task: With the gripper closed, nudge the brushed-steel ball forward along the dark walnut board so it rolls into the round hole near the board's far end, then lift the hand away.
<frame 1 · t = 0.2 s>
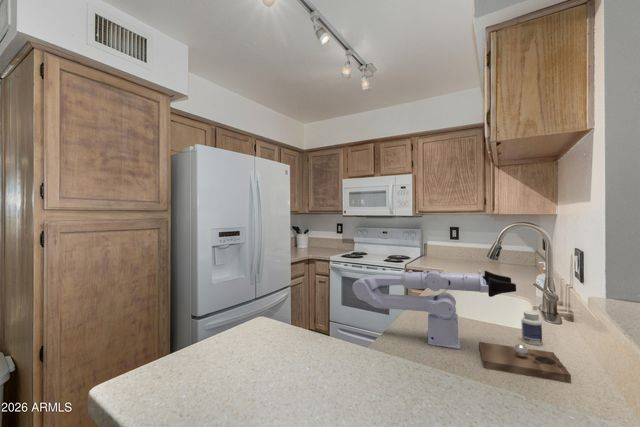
hand: (513, 284, 87), 21 cm above the countertop, tool horizontal, fingers open, 7 cm apart
steel ball: (521, 350, 80), point 4 cm above the countertop, touching walnut board
pill bottle: (532, 342, 94), on the countertop
walnut board: (519, 363, 80), on the countertop
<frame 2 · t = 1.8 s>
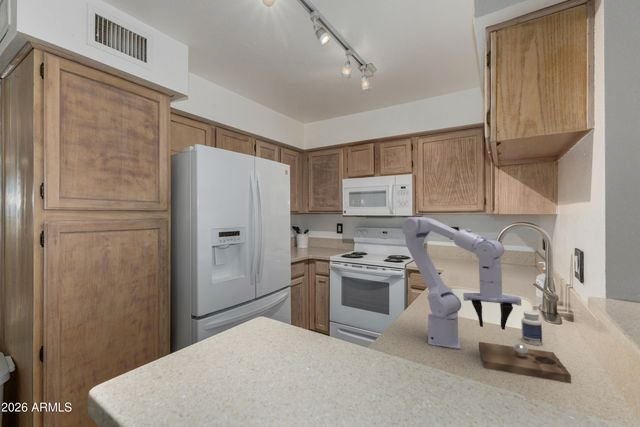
hand: (491, 327, 83), 9 cm above the countertop, tool pointing down, fingers open, 5 cm apart
nothing on the countertop moved.
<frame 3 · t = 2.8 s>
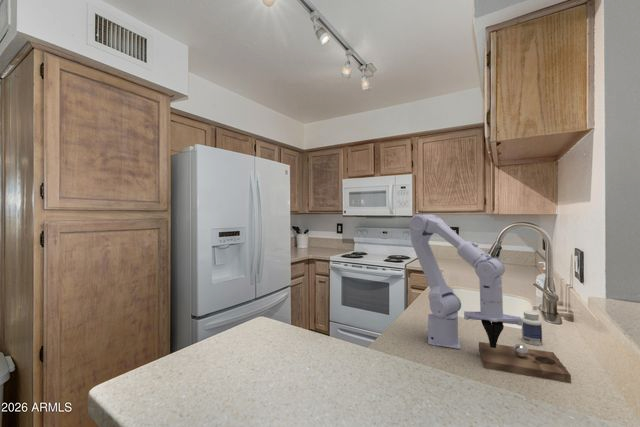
hand: (492, 346, 83), 4 cm above the countertop, tool pointing down, fingers closed
nothing on the countertop moved.
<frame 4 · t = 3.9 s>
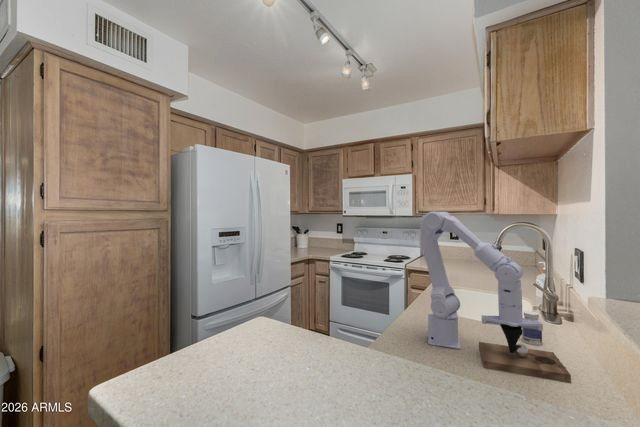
hand: (511, 351, 81), 3 cm above the countertop, tool pointing down, fingers closed, pressing on steel ball
steel ball: (521, 350, 80), point 4 cm above the countertop, touching gripper, walnut board
everything else where it was.
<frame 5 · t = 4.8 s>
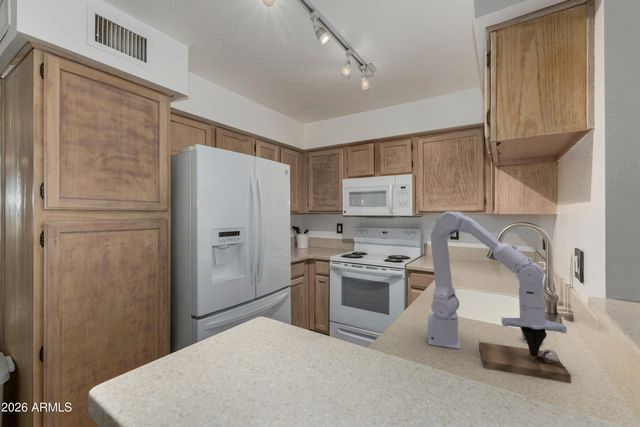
hand: (533, 354, 79), 3 cm above the countertop, tool pointing down, fingers closed
steel ball: (550, 356, 77), point 3 cm above the countertop, tilted 173°, touching walnut board
everything else where it was.
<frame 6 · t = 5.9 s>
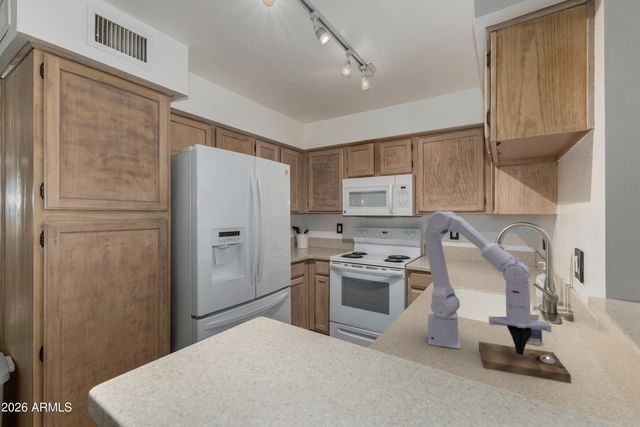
hand: (519, 352, 80), 3 cm above the countertop, tool pointing down, fingers closed
steel ball: (547, 361, 78), point 2 cm above the countertop, tilted 142°
everything else where it was.
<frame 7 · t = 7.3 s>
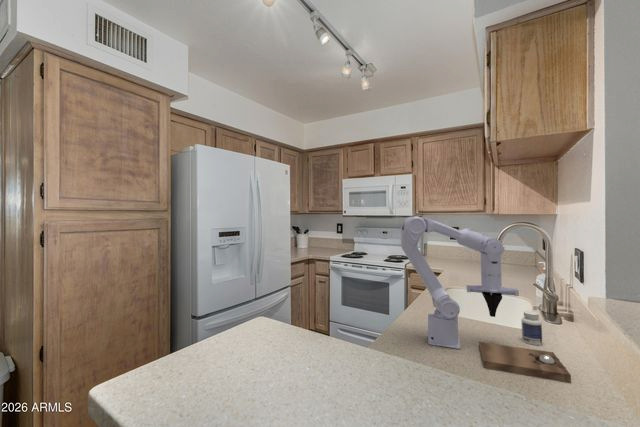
hand: (492, 315, 93), 9 cm above the countertop, tool pointing down, fingers closed
steel ball: (546, 361, 78), point 2 cm above the countertop, tilted 137°
everything else where it was.
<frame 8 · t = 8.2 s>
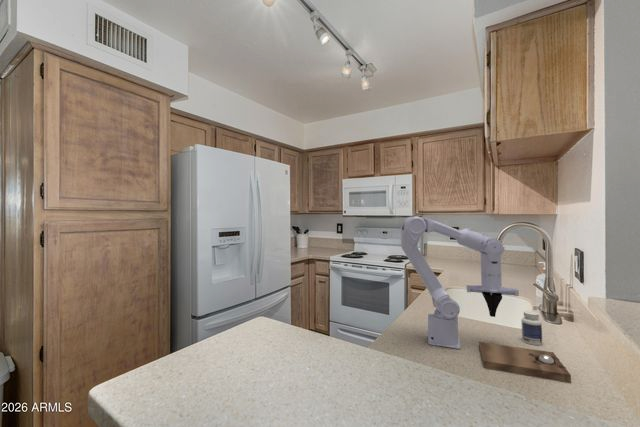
hand: (492, 315, 93), 9 cm above the countertop, tool pointing down, fingers closed
nothing on the countertop moved.
at the end: steel ball 0.2 cm from the target spot on the walnut board, point 1.7 cm above the walnut board's base; steel ball moved 6.0 cm from its start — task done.
